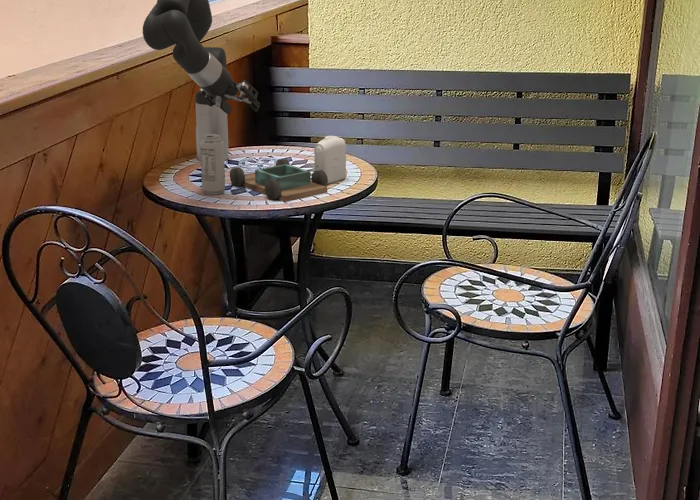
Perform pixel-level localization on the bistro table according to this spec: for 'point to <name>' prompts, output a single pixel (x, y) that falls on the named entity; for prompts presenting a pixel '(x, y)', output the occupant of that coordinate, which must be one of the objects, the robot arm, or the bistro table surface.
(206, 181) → the energy drink can
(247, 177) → the chassis
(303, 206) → the bistro table surface
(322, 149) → the photo printer
